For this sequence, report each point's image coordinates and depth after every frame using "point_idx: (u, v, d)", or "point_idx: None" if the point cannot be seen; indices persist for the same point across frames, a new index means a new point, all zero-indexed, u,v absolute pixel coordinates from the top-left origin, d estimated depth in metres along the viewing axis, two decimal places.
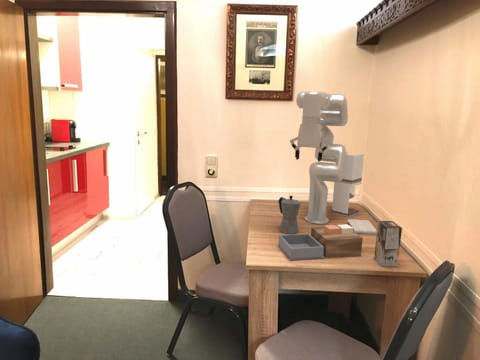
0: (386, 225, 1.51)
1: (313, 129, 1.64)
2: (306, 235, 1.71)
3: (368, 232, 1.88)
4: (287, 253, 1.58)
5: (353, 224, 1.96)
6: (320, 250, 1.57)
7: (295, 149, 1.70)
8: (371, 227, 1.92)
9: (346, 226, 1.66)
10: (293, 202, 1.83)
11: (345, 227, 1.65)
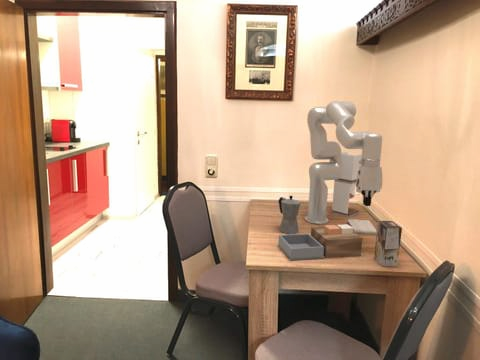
0: (386, 225, 1.51)
1: None
2: (306, 235, 1.71)
3: (368, 232, 1.88)
4: (287, 253, 1.58)
5: (353, 224, 1.96)
6: (320, 250, 1.57)
7: None
8: (371, 227, 1.92)
9: (346, 226, 1.66)
10: (293, 202, 1.83)
11: (345, 227, 1.65)
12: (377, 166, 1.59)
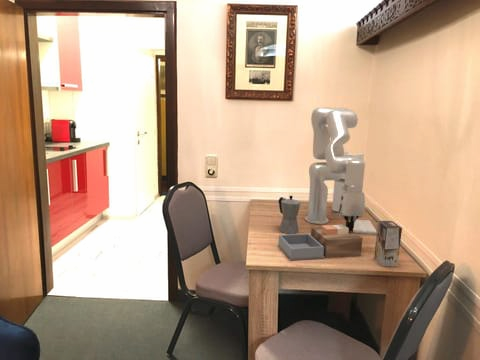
0: (386, 225, 1.51)
1: None
2: (306, 235, 1.71)
3: (367, 232, 1.88)
4: (287, 253, 1.58)
5: None
6: (320, 250, 1.57)
7: (351, 219, 1.67)
8: (371, 227, 1.92)
9: (341, 226, 1.65)
10: (293, 202, 1.83)
11: (340, 227, 1.64)
12: (359, 192, 1.60)
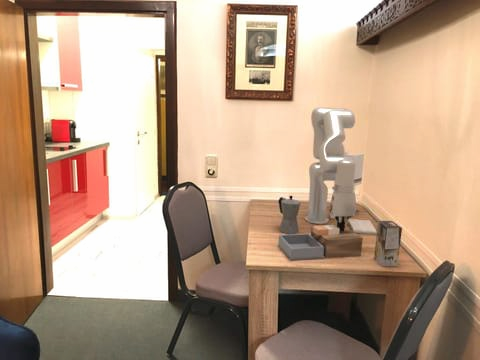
0: (386, 225, 1.51)
1: None
2: (306, 235, 1.71)
3: (367, 232, 1.88)
4: (287, 253, 1.58)
5: (353, 224, 1.96)
6: (320, 250, 1.57)
7: None
8: (371, 227, 1.92)
9: (332, 227, 1.64)
10: (293, 202, 1.83)
11: (331, 228, 1.63)
12: (350, 192, 1.59)
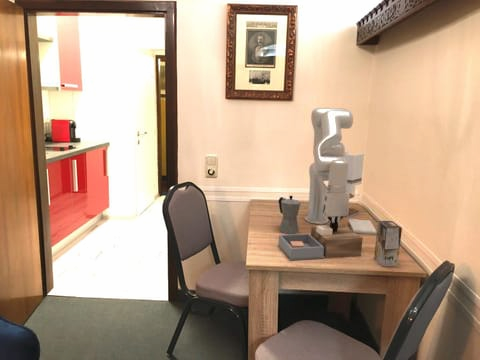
0: (386, 225, 1.51)
1: None
2: (306, 235, 1.71)
3: (367, 232, 1.88)
4: (287, 253, 1.58)
5: (353, 224, 1.96)
6: (320, 250, 1.57)
7: None
8: (371, 227, 1.92)
9: (325, 227, 1.63)
10: (293, 202, 1.83)
11: (324, 228, 1.62)
12: (343, 193, 1.58)
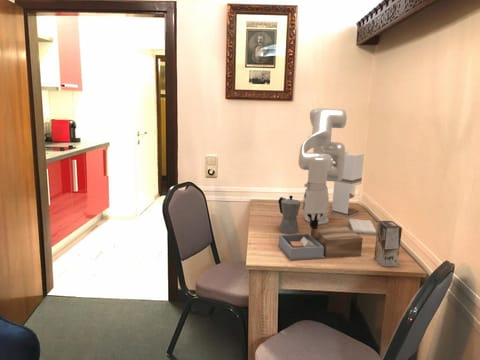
0: (386, 225, 1.51)
1: None
2: (306, 235, 1.71)
3: (367, 232, 1.89)
4: (287, 253, 1.58)
5: (353, 224, 1.96)
6: (320, 250, 1.57)
7: None
8: (371, 227, 1.92)
9: None
10: (293, 202, 1.83)
11: None
12: (322, 190, 1.56)
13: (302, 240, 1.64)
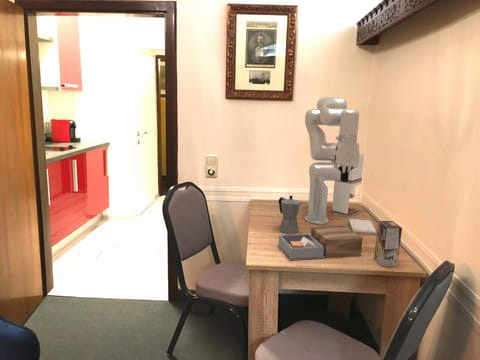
0: (386, 225, 1.51)
1: None
2: (306, 235, 1.71)
3: (367, 232, 1.89)
4: (287, 253, 1.58)
5: (353, 224, 1.96)
6: (320, 250, 1.57)
7: None
8: (371, 227, 1.92)
9: None
10: (293, 202, 1.83)
11: None
12: (354, 142, 1.61)
13: (302, 240, 1.64)
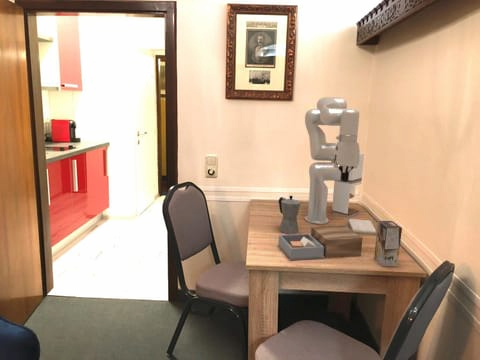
0: (386, 225, 1.51)
1: None
2: (306, 235, 1.71)
3: (367, 232, 1.89)
4: (287, 253, 1.58)
5: (353, 224, 1.96)
6: (320, 250, 1.57)
7: None
8: (371, 227, 1.92)
9: None
10: (293, 202, 1.83)
11: None
12: (354, 142, 1.61)
13: (302, 240, 1.64)
